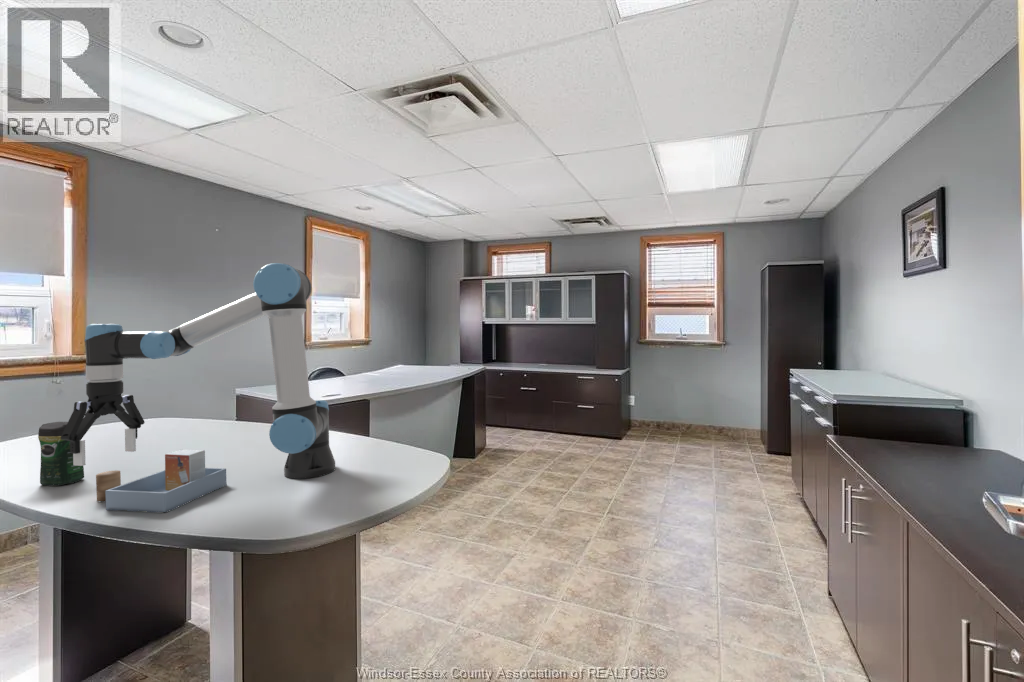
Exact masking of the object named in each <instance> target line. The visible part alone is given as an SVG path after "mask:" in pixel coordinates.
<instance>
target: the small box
mask: <svg viewBox="0 0 1024 682" xmlns="http://www.w3.org/2000/svg"><path fill="white" fill-rule="evenodd" d="M205 468H206V451H205V449H204V450H203V449H200V450H197V449H195V450H193V449H183V448H182V449H178V450H175V451H171V452H168V453H165V454H164V470H165V490H172V489H175V488H177V487H180V486H182V485H184V484H187V483H189V482H192V481H194V480H197V479H199V478H202V477H204V476H205Z"/></svg>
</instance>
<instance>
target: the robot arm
mask: <svg viewBox="0 0 1024 682" xmlns="http://www.w3.org/2000/svg"><path fill="white" fill-rule="evenodd" d="M252 283H253V284H252V286H253V291H254V293H251V294H248V295H246V296H244V297H241V298H240V299H237V300H236V301H233V302H231V303H229V304H226V305H224V306H221V307H219V308H217V309H214V310H213V311H210V312H208V313H205V314H203V315H200V316H199V317H196V318H195V319H192V320H189V321H188V322H185V323H183V324H181V325H179V326H177V327H176V326H175V327H174V328H171V329H169V330H150V331H149V330H145V331H144V330H141V331H139V330H138V331H127V330H124V329H123V326H122V325H121V324H118V323H116V324H115V323H98V324H97V323H91V324H88V325H87V326H86V327H85V338H84V342H85V343H84V346H85V361H86V362H85V379H86V380H87V381H88V382H87V383H85V388H86V391H85V394H86V396H87V398H88V399H87V401H75V402H74V405H73V411H72V412H71V415H70V417H69V419H68V421H67V422H68V423H67V425H66V427H65V429H64V431H63V433H62V435H61V440H67V441H70V452H71V454H73V465H75V466H83V467H85V466H86V440H85V439H83V438H84V436H85V435H86V434H87V432H88V431H89V430H90V429H91V427H92V426H93V425H94V423H95V422H96V420H97V419H99V418H100V417H101V416H107V415H113V414H114V415H115V416H116V417H117V418H118V419H119V420H120V421H121V422H122V423H123V424H124V425H125V426H126V427H127V428H124V450H125V451H124V452H131V453H133V452H136V451H137V445H136V444H137V443H136V442H137V441H136V439H138V429H140V428H141V427H142V425H144V424H145V419H144V418H143V416H142V414H141V413H140V411H139V409H138V407H137V405H136V402H135V399H134V395H133V394H123V393H124V381H123V380H122V379H123V378H124V365H123V364H124V359H127V360H128V359H150V360H151V359H152V360H158V359H166V358H169V357H178V356H182V355H185V354H188V353H189V352H190V351H191V350H192V349H193V348H196V347H198V346H200V345H202V344H204V343H207V342H209V341H211V340H213V339H216V338H218V337H219V336H220V337H221V336H223V335H225V334H227V333H229V332H231V331H233V330H236V329H239V328H241V327H243V326H244V325H247V324H249V323H251V322H254V321H256V320H259V319H261V318H263V317H265V316H266V317H267V319H268V324H269V325H268V326H269V335H270V344H271V353H272V354H271V355H272V362H273V371H274V372H273V373H274V384H275V390H276V391H275V392H276V400H277V401H276V402H275V404H274V405H273V406H272V407H271V409H272V420H273V422H272V423H271V425H270V428H269V431H268V432H269V433H268V434H269V440H270V442H271V444H272V445H273V447H275V449H277V450H278V451H279V452H282V453H284V454H287V458H286V461H285V465H284V466H283V467H284V468H283V474H284V477H286V478H289V479H295V480H296V479H312V478H316V477H317V476H318V477H321V475H322V476H325V475H328V474H331V473H332V472H334V471H335V470H336V459H335V457H334V455H333V453H332V450H331V446H330V419H329V416H330V415H329V412H330V408H329V402H328V401H327V400H325V399H321V400H320V399H319V400H318V399H316V400H315V399H314V398H312V397H311V396H310V395H311V394H310V393H311V392H310V384H309V377H308V376H309V375H308V365H307V356H306V347H305V337H304V336H305V335H304V328H303V326H304V325H303V318H302V317H303V315H304V313H306V311H307V301H308V299H309V298H310V296H311V293H312V282H311V280H310V278H309V277H308V276H307V274H306V273H304V272H303V271H301V270H299V269H297V268H295V267H293V266H291V265H289V264H286V263H279V262H274V263H268V264H265V265H264V266H262V267H261V268H260V269H259V270H258V271H257V272H256V274H255V275H254V278H253V282H252ZM122 405H123V406H124V407H123V406H122ZM334 469H335V470H334ZM333 470H334V471H333ZM327 473H328V474H327ZM324 474H325V475H324Z"/></svg>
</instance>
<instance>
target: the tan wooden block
mask: <svg viewBox="0 0 1024 682" xmlns="http://www.w3.org/2000/svg"><path fill="white" fill-rule="evenodd" d="M121 476H122V475H121V470H117V469H115V470H107V471H103V472H99V473H97V474H96V475H95V485H96V488H95V490H96V502H97V501H106V493H105V491H106V490H109V489H112V488H115V487H117V486H120V485H122V483H121V482H122V480H121V479H122V478H121Z"/></svg>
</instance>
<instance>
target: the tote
mask: <svg viewBox="0 0 1024 682" xmlns="http://www.w3.org/2000/svg"><path fill="white" fill-rule="evenodd" d="M225 485H226V486H228V484H227V468H222V467H221V468H220V467H219V468H218V467H217V468H216V467H205V476H204V477H202V478H199V479H197V480H194V481H192V482H189V483H187V484H184V485H182V486H180V487H177V488H175V489H172V490H165V469H164V470H161V471H159V472H155V473H152V474H150V475H146V476H144V477H140V478H138V479H135V480H131V481H129V482H126V483H123V484H121V485H120V486H117V487H115V488H112V489H109V490H106V491H105V493H106V502H105V510H106V511H117V510H127V511H126V512H136V511H147V512H146V513H155V512H167V511H169V510H171V511H173V510H175V509H177V508H176V507H178V506H180V507H181V505H182V506H184V505H186V504H188V503H187V502H189V501H191V500H193V499H195V500H197V499H199V498H198V497H200V496H202V495H204V496H205V494H206V495H208V494H207V493H209V492H211V491H213V492H215V491H217V490H219V488H220V489H222V488H223V486H224V487H226V486H225ZM221 487H222V488H221ZM216 489H217V490H216ZM214 490H215V491H214ZM211 493H212V492H211ZM209 494H210V493H209ZM202 497H203V496H202ZM196 498H197V499H196ZM200 498H201V497H200ZM193 501H194V500H193ZM191 502H192V501H191ZM185 503H186V504H185ZM189 503H190V502H189ZM183 504H184V505H183ZM174 508H175V509H174ZM178 508H179V507H178ZM172 509H173V510H172ZM169 512H170V511H169ZM167 513H168V512H167Z"/></svg>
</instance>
